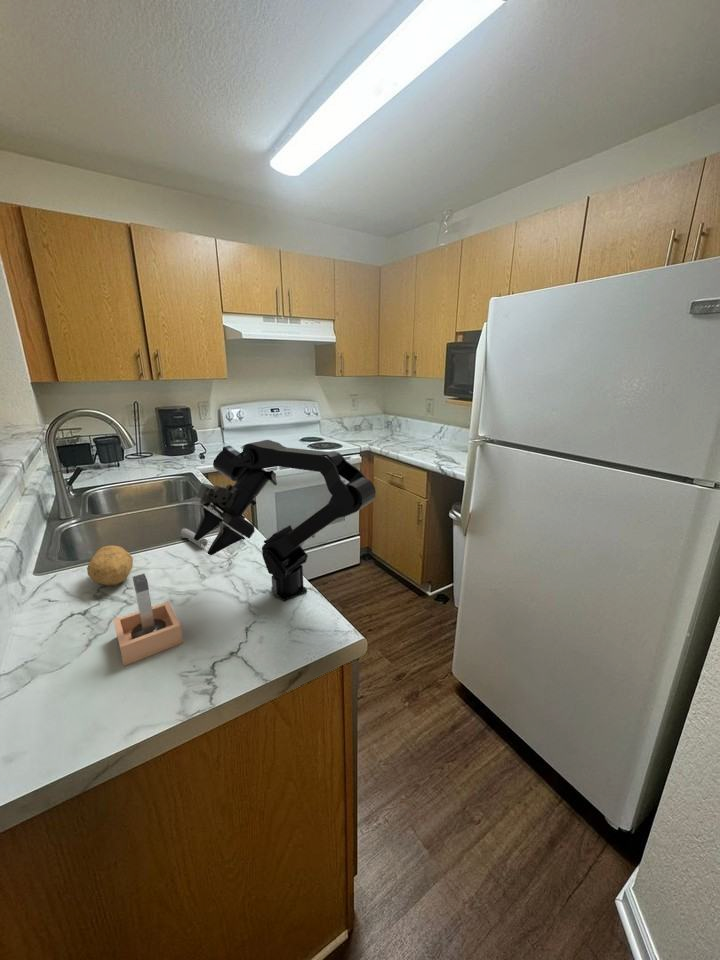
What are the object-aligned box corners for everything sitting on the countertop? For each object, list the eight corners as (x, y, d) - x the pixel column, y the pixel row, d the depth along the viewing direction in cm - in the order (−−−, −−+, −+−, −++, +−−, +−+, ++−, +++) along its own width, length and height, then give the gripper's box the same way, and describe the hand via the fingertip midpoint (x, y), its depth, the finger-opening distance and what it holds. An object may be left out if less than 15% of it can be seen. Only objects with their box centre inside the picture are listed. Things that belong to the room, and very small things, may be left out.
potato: (89, 600, 89) (82, 569, 87) (91, 574, 100) (85, 546, 98) (137, 588, 94) (132, 558, 92) (134, 564, 105) (129, 538, 103)
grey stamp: (163, 621, 80) (154, 567, 76) (169, 636, 75) (160, 579, 72) (130, 633, 76) (119, 576, 73) (134, 649, 72) (123, 590, 68)
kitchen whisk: (191, 531, 128) (188, 513, 126) (241, 566, 105) (239, 545, 103) (172, 536, 124) (169, 518, 122) (220, 575, 101) (218, 553, 99)
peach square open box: (171, 617, 83) (168, 601, 82) (183, 642, 75) (180, 625, 74) (117, 636, 77) (113, 619, 76) (124, 665, 69) (120, 647, 68)
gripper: (204, 461, 90) (159, 516, 87) (235, 479, 77) (183, 544, 73) (239, 487, 97) (199, 539, 94) (274, 507, 84) (228, 569, 80)
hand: (201, 546), depth 85 cm, fingers open, 9 cm apart
